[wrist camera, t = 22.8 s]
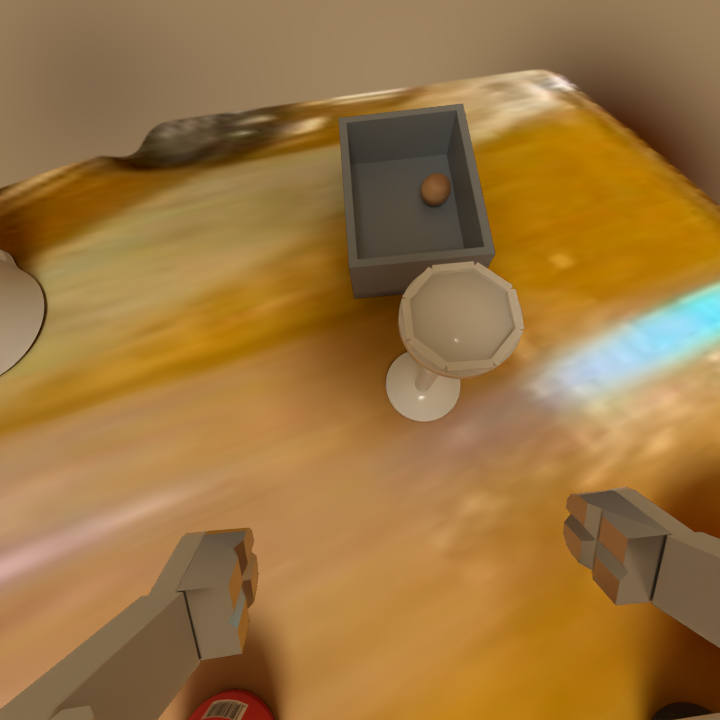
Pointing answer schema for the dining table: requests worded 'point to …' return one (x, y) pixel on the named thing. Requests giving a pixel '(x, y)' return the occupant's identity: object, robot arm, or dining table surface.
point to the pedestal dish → (450, 336)
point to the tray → (409, 197)
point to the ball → (435, 189)
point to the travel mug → (680, 711)
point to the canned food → (233, 707)
